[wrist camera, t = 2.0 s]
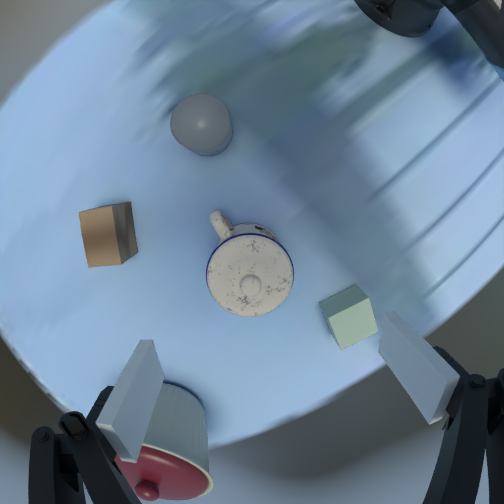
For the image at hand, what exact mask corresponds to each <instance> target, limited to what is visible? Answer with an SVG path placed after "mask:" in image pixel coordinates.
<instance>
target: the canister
mask: <svg viewBox="0 0 504 504" xmlns="http://www.w3.org/2000/svg"><path fill="white" fill-rule="evenodd" d="M114 460H115V461H116V463H117V464H118V466H119V468H120V470H121V471H122V473H123V475H124V477H125V478H126V480H127V482H128V483H129V485H130V486H131V488H132V490H134V491H135V493H136V495H137V496H138V497H140V498H141V499H143V500H147V501H154V500H156V499H158V498H160V499H166V500H188V499H192V498H196V497H200V496H203V495H205V494H207V493H209V492H210V491H211V490H212V488H213V486H214V481H213V478H212V476H211V475H210V473H209V460H208V438H207V422H206V415H205V411H204V409H203V407H202V405H201V403H200V402H199V401H198V399H196V398H195V397H194V396H193V395H191V394H190V392H187V391H186V390H185V389H182V388H180V387H177V386H175V385H170V384H165V383H162V386H161V389H160V392H159V395H158V398H157V401H156V404H155V407H154V410H153V413H152V416H151V419H150V422H149V425H148V428H147V431H146V434H145V437H144V441H143V444H142V447H141V450H140V453H139V457H138V460H137V463H133V462H127V461H122V460H121V459H120V458H119V456H118V455H117V454H116V457H115V459H114Z"/></svg>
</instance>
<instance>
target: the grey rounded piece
mask: <svg viewBox="0 0 504 504" xmlns="http://www.w3.org/2000/svg"><path fill="white" fill-rule="evenodd" d="M170 126H171V131H172V134H173V136H174V137H175V139H176V140H177V141H178V142H179V143H180V144H181V145H183V146H185V147H186V148H188V149H190V150H192V151H194V152H195V153H197V154H199V155H203V156H214V155H217V154H219V153H221V152H222V151H224V150H225V149H226V148H227V147H228V145H229V144H230V142H231V139H232V135H233V131H232V125H231V120H230V116H229V112H228V109H227V107H226V105H225V104H224V103H223V102H222V101H221V100H220V99H219V98H217V97H215V96H213V95H210V94H202V93H201V94H194V95H191V96H189V97H187V98H185V99H183V100H182V101H181V102H180V103H179V104H178V105H177V106H176V108H175V109H174V111H173V113H172V116H171V121H170Z"/></svg>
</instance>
